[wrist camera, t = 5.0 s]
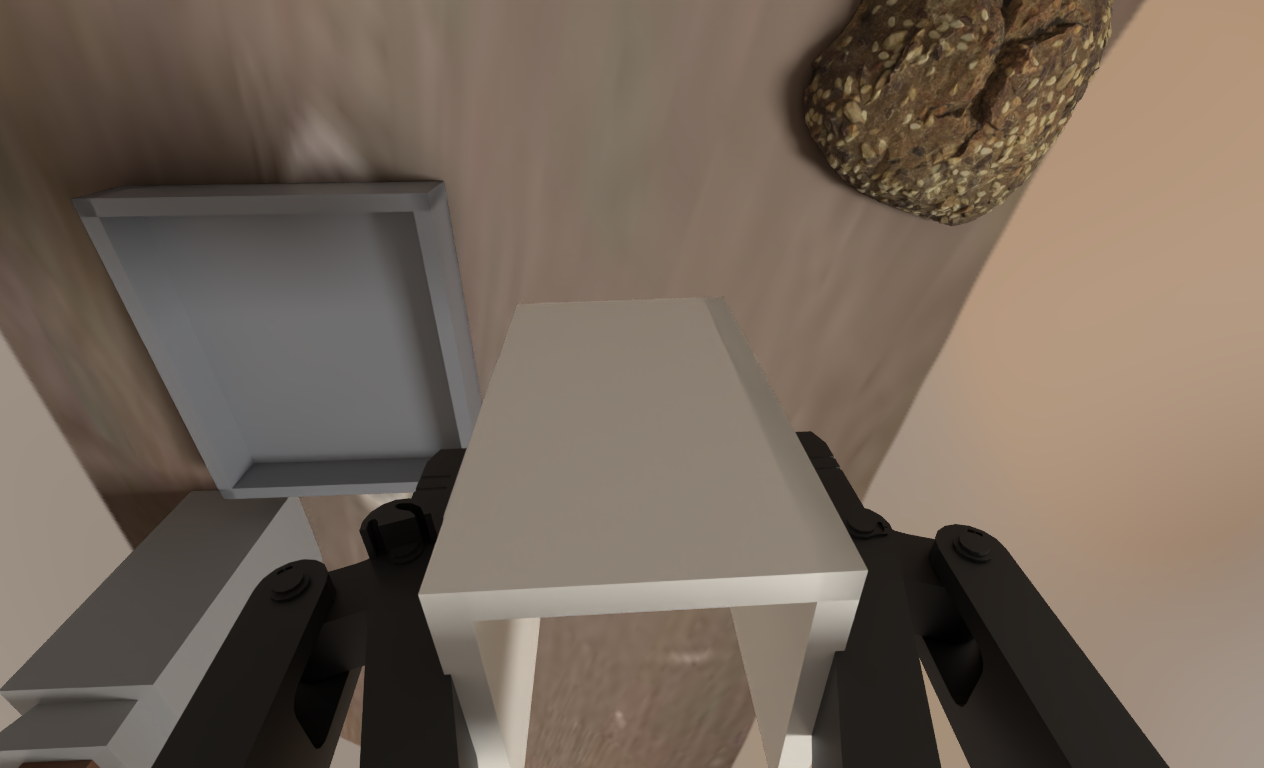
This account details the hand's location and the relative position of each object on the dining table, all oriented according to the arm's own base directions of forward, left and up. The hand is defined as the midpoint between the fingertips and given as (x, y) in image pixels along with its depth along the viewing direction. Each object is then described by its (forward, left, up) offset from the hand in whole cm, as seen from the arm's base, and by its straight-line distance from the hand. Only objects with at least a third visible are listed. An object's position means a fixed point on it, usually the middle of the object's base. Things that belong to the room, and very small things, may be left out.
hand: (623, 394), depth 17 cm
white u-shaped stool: (0, 0, 0) cm, 0 cm away
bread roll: (-8, +16, -15) cm, 24 cm away
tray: (+5, -16, -15) cm, 22 cm away
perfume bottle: (+19, -25, -15) cm, 35 cm away
